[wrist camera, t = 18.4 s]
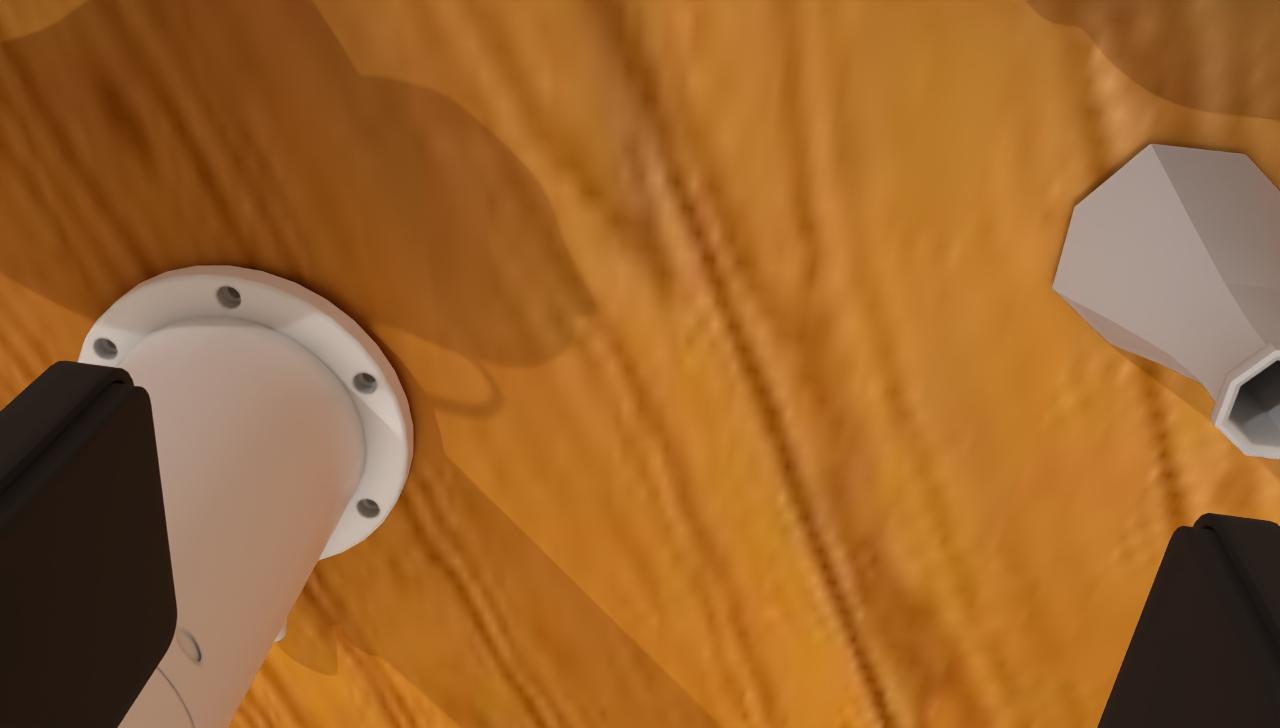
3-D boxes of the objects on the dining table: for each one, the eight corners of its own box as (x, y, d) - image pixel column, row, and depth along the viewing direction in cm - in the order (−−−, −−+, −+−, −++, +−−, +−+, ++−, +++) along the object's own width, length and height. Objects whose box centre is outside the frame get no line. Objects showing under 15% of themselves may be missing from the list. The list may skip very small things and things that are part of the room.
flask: (1199, 380, 41) (1314, 565, 32) (1011, 296, 40) (1076, 461, 31) (1342, 198, 37) (1516, 349, 28) (1139, 102, 36) (1254, 226, 28)
